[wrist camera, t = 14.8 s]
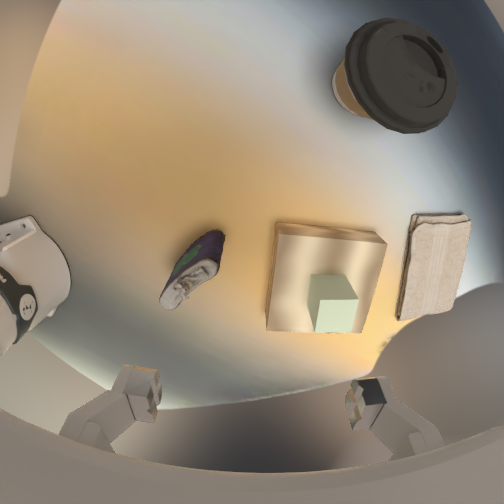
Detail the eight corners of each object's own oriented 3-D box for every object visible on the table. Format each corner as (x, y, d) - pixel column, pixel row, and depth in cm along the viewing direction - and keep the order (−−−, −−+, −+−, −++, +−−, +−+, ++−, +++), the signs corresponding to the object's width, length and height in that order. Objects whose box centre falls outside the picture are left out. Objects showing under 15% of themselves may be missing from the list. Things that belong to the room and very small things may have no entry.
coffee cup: (411, 88, 31) (481, 79, 18) (367, 148, 35) (427, 163, 21) (346, 32, 29) (394, -11, 15) (297, 92, 32) (325, 69, 19)
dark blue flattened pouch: (183, 279, 42) (165, 323, 32) (169, 265, 42) (146, 306, 32) (230, 238, 40) (222, 276, 30) (214, 223, 39) (202, 256, 29)
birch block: (265, 310, 45) (266, 330, 40) (276, 221, 39) (279, 234, 35) (352, 314, 45) (361, 333, 41) (373, 230, 40) (387, 244, 35)
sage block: (306, 304, 39) (314, 332, 33) (310, 274, 37) (320, 299, 31) (339, 304, 39) (351, 331, 33) (345, 274, 37) (359, 299, 31)
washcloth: (464, 209, 38) (475, 215, 35) (447, 306, 45) (455, 315, 42) (405, 211, 39) (415, 218, 36) (392, 316, 46) (399, 326, 43)
